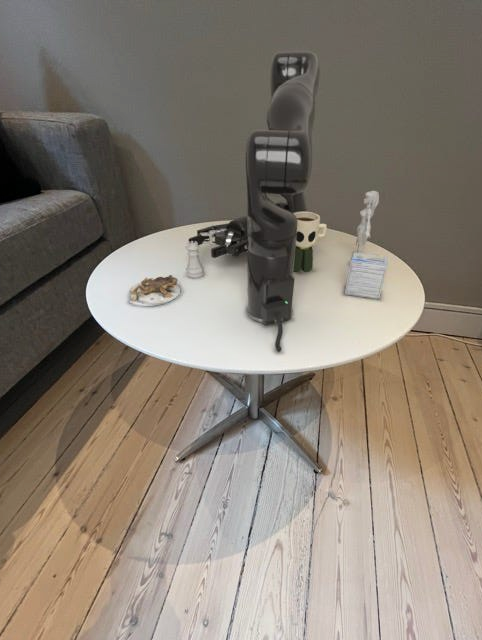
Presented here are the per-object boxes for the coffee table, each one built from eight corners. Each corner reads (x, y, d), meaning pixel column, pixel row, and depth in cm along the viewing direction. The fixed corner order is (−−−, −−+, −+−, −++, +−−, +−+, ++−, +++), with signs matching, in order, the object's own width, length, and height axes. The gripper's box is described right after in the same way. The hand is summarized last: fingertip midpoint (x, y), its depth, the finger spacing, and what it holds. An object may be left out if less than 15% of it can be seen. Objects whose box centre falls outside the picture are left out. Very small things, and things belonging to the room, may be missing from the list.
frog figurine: (180, 279, 94) (178, 264, 91) (181, 304, 85) (179, 288, 82) (132, 282, 92) (128, 267, 90) (127, 308, 84) (123, 292, 81)
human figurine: (348, 254, 106) (362, 183, 94) (362, 255, 106) (377, 184, 94) (351, 274, 97) (366, 198, 85) (366, 275, 97) (383, 199, 85)
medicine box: (379, 291, 91) (388, 255, 85) (379, 300, 88) (388, 264, 82) (346, 286, 93) (352, 251, 87) (344, 295, 90) (351, 259, 84)
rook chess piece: (203, 279, 94) (200, 247, 89) (184, 278, 94) (181, 246, 89) (205, 270, 97) (202, 239, 92) (187, 270, 97) (184, 239, 92)
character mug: (280, 275, 97) (284, 221, 88) (277, 262, 102) (280, 211, 93) (323, 274, 97) (331, 221, 88) (318, 262, 102) (325, 211, 94)
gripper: (229, 209, 103) (180, 224, 94) (268, 224, 96) (219, 241, 87) (230, 237, 108) (184, 254, 99) (267, 253, 101) (220, 272, 92)
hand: (200, 248), depth 93 cm, fingers open, 8 cm apart
